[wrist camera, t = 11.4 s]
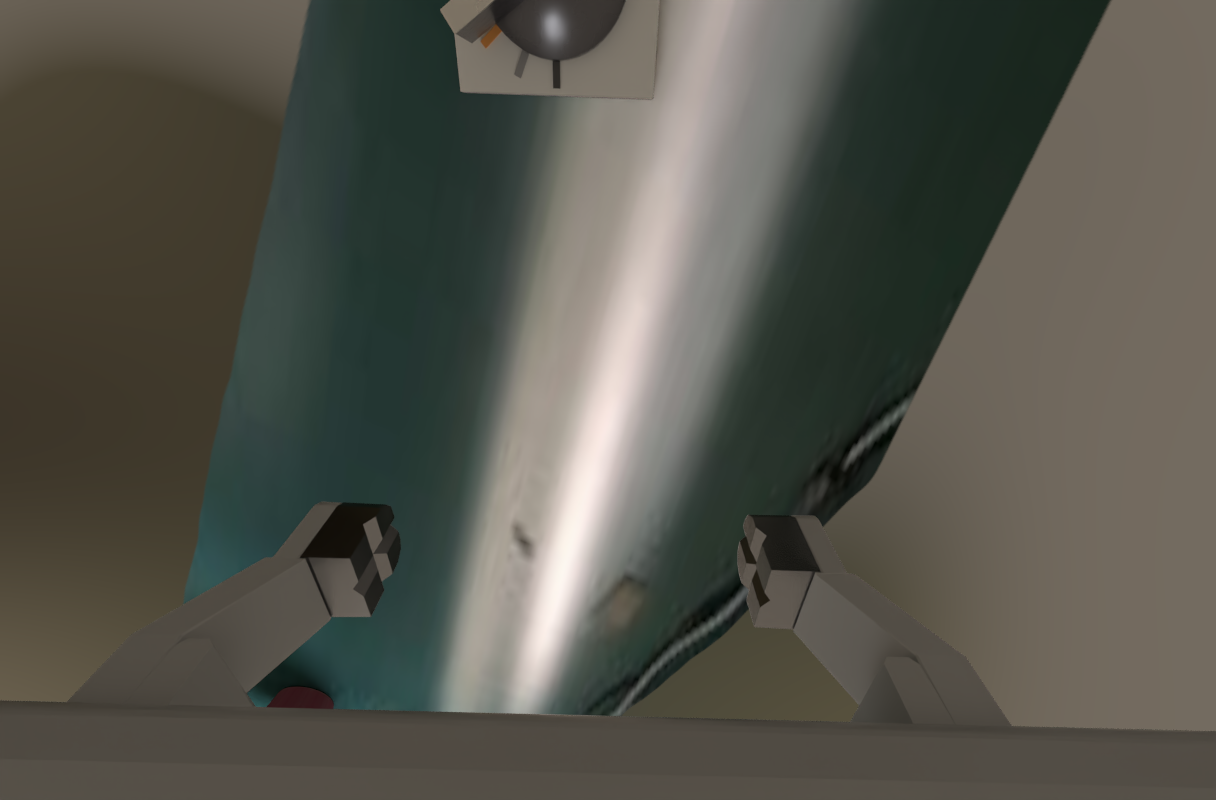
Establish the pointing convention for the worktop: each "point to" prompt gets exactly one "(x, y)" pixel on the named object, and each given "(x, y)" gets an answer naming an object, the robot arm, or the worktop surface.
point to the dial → (538, 23)
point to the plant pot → (301, 699)
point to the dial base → (568, 62)
